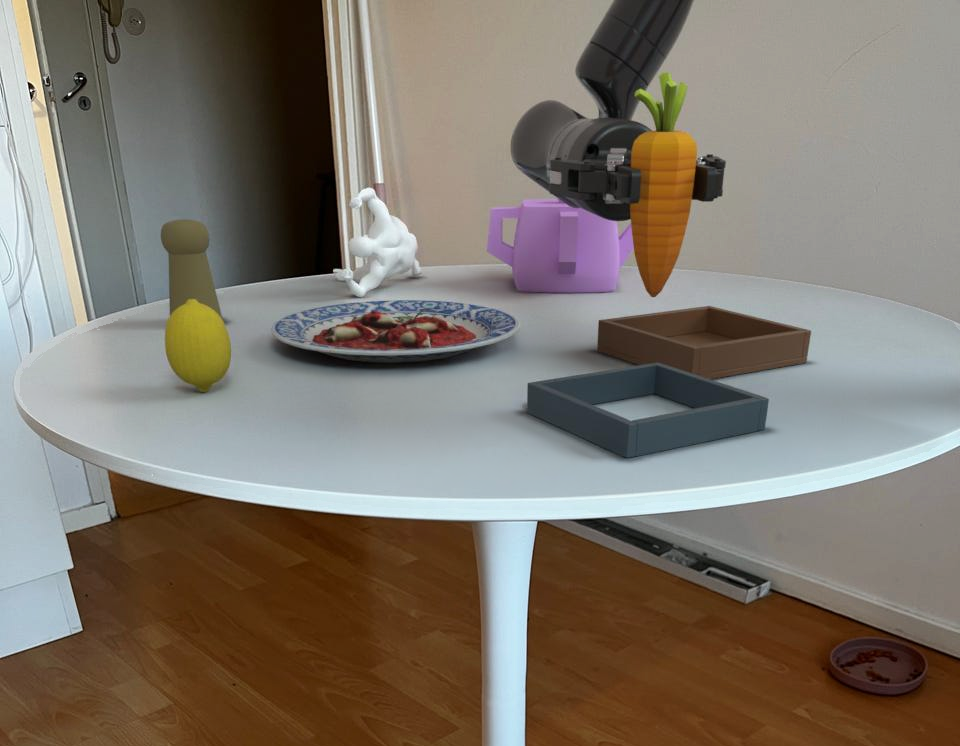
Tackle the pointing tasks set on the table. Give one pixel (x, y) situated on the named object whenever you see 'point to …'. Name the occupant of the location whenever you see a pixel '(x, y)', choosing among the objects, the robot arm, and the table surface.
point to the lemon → (197, 345)
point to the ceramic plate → (395, 329)
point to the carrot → (662, 187)
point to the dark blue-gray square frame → (711, 420)
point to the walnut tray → (704, 341)
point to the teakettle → (560, 247)
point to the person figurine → (379, 248)
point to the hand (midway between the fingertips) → (673, 186)
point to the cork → (188, 264)
